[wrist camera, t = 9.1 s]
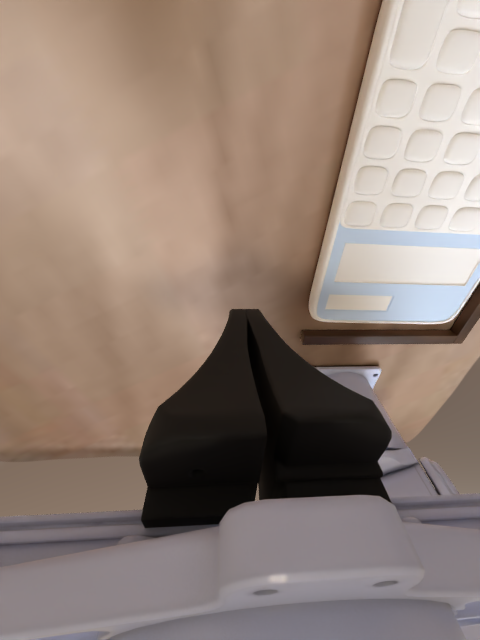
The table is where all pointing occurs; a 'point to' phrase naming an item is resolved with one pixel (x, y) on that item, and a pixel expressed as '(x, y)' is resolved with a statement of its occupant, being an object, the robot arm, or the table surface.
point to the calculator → (408, 174)
